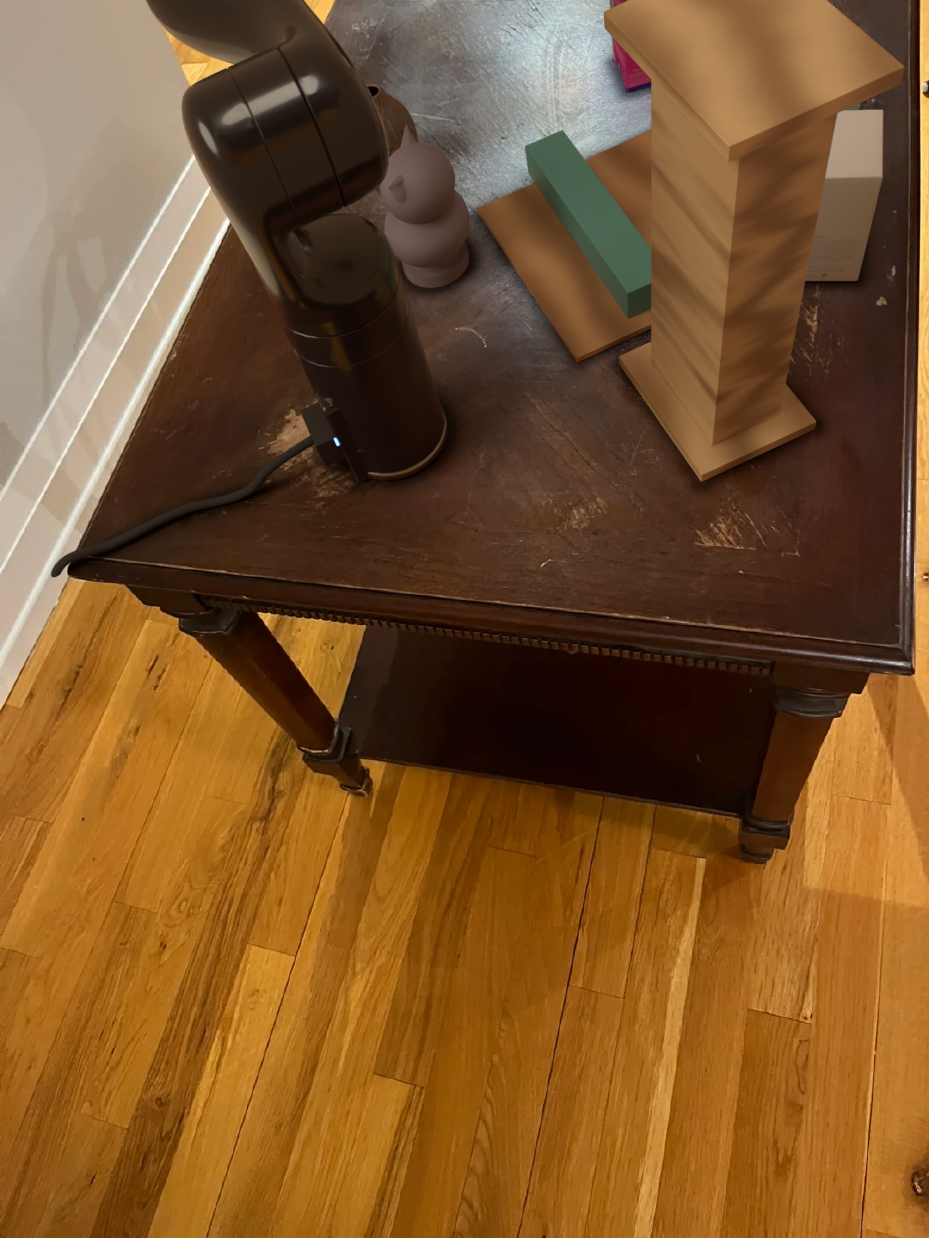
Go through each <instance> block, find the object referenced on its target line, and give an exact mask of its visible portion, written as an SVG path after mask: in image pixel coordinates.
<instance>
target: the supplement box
mask: <svg viewBox="0 0 929 1238" xmlns="http://www.w3.org/2000/svg"><path fill="white" fill-rule="evenodd" d="M608 1H609V9H611V8H613V7H615V6H617V5H620V4H622V3H624V2H626V1H629V0H608ZM610 36H611V35H610ZM611 52H612V53H611V54H612V62H613V63H614V65H615V68H616V69H617V71H618V74H619V76H620V78H621V81H622V83H623V86H624V89H625V92H626V93H631V92H632V93H633V92H635V91H639V90H641V89H642V90H643V89H645V88H648V87H651V78H650V77H649V76H648V75H647V74H646V73H645V72H644V71H643V70H642V69H641V67H640V66H639V65H638V64H637V63H636V62H635V61H634V60H633V59H632V58H631V57H630V55H629V54H628V53H627V52H626V51H625V50H624V49H623V48H622V47H621V46H620V45H619V44H618V42H617V41H616V40H615V39H614V38H613V37H612V36H611Z"/></svg>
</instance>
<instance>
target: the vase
mask: <svg viewBox="0 0 929 1238" xmlns="http://www.w3.org/2000/svg"><path fill="white" fill-rule="evenodd" d="M365 84H366V83H365ZM366 86H367V88H368V89H369V91H370V93H371V96H372V98H373V100H374V102H375V104H376V106H377V109H378V111H379V113H380V116H381V119H382V121H383V124H384V128H385V131H386V136H387V140H388V146H389V157H390V156H391V155H392V154H393V153H394V152H395V151H396V150H398V149H399V148H401V143H402V139H403V134H404V130H405V125H406V124H407V126H408V128H409V130H410V131H411V133H412V135H413V137H414V138H415V140H416V142H418V143H419V136H418V131H417V127H416V123H415V121H414V119H413V117H412V115H411V113H410V112H409V110H408V109H407V107H406V106H405V105H404V104H403V103H402V102H401V101H400V100H398V99H397V98H396V97H394V96H393V95H391V94H389V93H388V92H387V91H386V90H385V89H384V88H383V87H382V86H381V85H380V84H379V83H375V82H370V83H367V84H366Z"/></svg>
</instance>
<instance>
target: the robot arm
mask: <svg viewBox="0 0 929 1238" xmlns="http://www.w3.org/2000/svg"><path fill="white" fill-rule="evenodd" d="M145 2H146V4H147V6H148V8H149V10H150V11H151V13H152V15H153V17H154V18H155V19H156V21H157V22H158V23H159V24H160V25H161V27H163V28H164V30H166V32H167V33H169V34H170V36H172V37H173V38H175V39H176V40H177V41H179V43H181V44H183V45H185V46H187V47H189V48H190V49H192V50H194V51H195V52H198V53H200V54H203V55H205V56H207V57H210V58H212V59H216V60H219V61H221V62H223V63H224V62H225V63H228V64H232V65H230V66H227V67H225V68H223V69H221V70H219V71H216V72H214V73H212V74H210V75H207V76H205V77H203V78H202V79H199V80H198V81H196V82H193V84H190V85H189V86H188V87H187V88H186V90H185V91H184V92H183V95H182V100H181V105H180V106H181V118H182V124H183V129H184V132H185V135H186V138H187V141H188V144H189V147H190V149H191V151H192V153H193V155H194V158H195V160H196V162H197V165H198V167H199V169H200V171H201V172H202V173H201V174H203V176H204V178H205V180H206V182H207V184H208V186H209V188H210V189H211V191H212V193H213V195H214V197H215V198H216V200H217V202H218V204H219V206H220V207H221V209H222V211H223V212H224V214H225V216H226V217H227V219H228V221H229V223H230V224H231V226H232V228H233V230H234V232H235V233H236V235H237V237H238V239H239V240H240V242H241V244H242V246H243V248H244V250H245V251H246V254H247V255H248V257H249V258H250V261H251V263H252V265H253V267H254V269H255V271H256V273H257V275H258V277H259V279H260V282H261V284H262V286H263V288H264V291H265V292H266V293H265V294H266V295H267V297H268V299H269V303H270V304H271V306H272V308H273V310H274V313H275V314H276V316H277V318H278V320H279V322H280V324H281V326H282V328H283V330H284V333H285V334H286V336H287V338H288V340H289V342H290V345H291V346H292V349H293V351H294V353H295V355H296V357H297V359H298V361H299V364H300V365H301V368H302V370H303V372H304V375H306V378H307V380H308V382H309V384H310V387H311V388H312V391H313V393H314V395H315V397H316V399H317V402H315V403H313V404H311V405H309V406H306V407H304V408H302V409H300V410H299V413H300V416H301V417H302V419H303V421H304V424H305V427H306V429H307V431H308V433H309V435H308V436H307V437H305V438H304V439H302V440H301V441H299V442H297V443H296V444H294V445H292V446H291V447H289V448H288V449H287V450H285V451H284V452H281V454H279V455H277V456H276V457H275V458H274V459H272V460H271V461H270V462H269V463H268V464H266V465H265V466H263V468H262V469H261V470H260V471H259V472H258V473H257V475H256V476H255V478H254V479H252V481H251V482H250V483H249V484H248V485H246V486H245V487H242V488H241V489H238V490H237V491H236V490H235V491H234V492H231V493H228V494H224V495H219V496H214V497H209V498H205V499H201V500H195V501H192V502H189V503H185V504H183V505H180V506H177V507H175V508H173V509H170V510H167V511H165V512H163V513H161V514H159V515H157V516H155V517H153V518H151V519H149V520H148V521H146V522H144V523H142V524H139V525H138V526H136V527H134V528H132V529H131V530H128V531H126V532H124V533H122V534H120V535H118V536H116V537H114V538H112V539H109V540H106V541H102V542H100V543H97V544H94V545H89V546H85V547H82V548H79V549H76V550H73V551H71V552H69V553H66V554H64V555H63V556H62V557H61V558H59V559H58V560H57V561H56V562H55V563H54V565H53V566H52V569H51V572H50V577H52V578H58V577H59V576H61V574H62V573H63V572H64V569H65V568H66V567H67V566H68V565H70V564H72V563H73V562H74V563H75V562H76V561H78V560H80V559H84V558H87V557H91V556H94V555H98V554H99V555H100V554H101V553H106V552H108V551H111V550H114V549H116V548H118V547H119V548H120V547H121V546H123V545H125V544H127V543H130V542H131V541H133V540H135V539H137V538H139V537H141V536H143V535H145V534H146V533H148V532H151V531H152V530H154V529H156V528H158V527H161V526H162V525H164V524H166V523H168V522H170V521H172V520H175V519H177V518H179V517H182V516H184V515H187V514H188V515H189V514H192V513H194V512H198V511H201V510H206V509H211V508H215V507H216V508H217V507H221V506H225V505H229V504H232V503H236V502H238V501H240V500H243V499H246V498H248V497H249V496H251V495H252V494H254V493H255V492H257V491H258V489H259V488H261V487H262V485H263V484H264V482H265V481H266V480H267V479H268V478H269V476H270V475H271V474H272V473H273V472H275V471H276V470H277V469H279V468H280V467H281V466H283V465H284V464H286V463H287V462H289V461H290V460H292V459H294V458H295V457H297V456H298V455H299V454H301V453H303V452H304V451H306V450H307V449H309V448H310V447H312V446H313V445H314V447H315V449H316V451H317V453H318V454H319V456H320V458H321V460H322V462H323V464H324V466H325V467H326V468H328V467H330V466H332V465H334V464H336V463H339V462H341V461H343V460H346V462H347V464H348V466H349V468H350V470H351V472H352V474H353V475H354V476H353V477H354V478H355V481H356V482H357V483H363V482H365V481H367V480H370V479H372V480H375V481H396V480H401V479H406V478H408V477H411V476H414V475H416V474H417V473H420V472H421V471H423V470H424V469H426V468H428V466H429V465H431V464H432V463H433V462H434V461H435V460H436V459H437V458H438V456H439V455H440V453H441V452H442V450H443V448H444V446H445V445H446V442H447V438H448V433H449V432H448V431H449V427H448V426H449V425H448V419H447V417H446V412H445V410H444V408H443V405H442V403H441V400H440V397H439V395H438V391H437V388H436V385H435V382H434V378H433V376H432V372H431V369H430V366H429V362H428V359H427V356H426V352H425V350H424V349H425V348H424V347H423V346H424V345H423V343H422V339H421V337H420V333H419V329H418V326H417V324H416V320H415V317H414V314H413V310H412V308H411V304H410V301H409V298H408V295H407V292H406V288H405V285H404V281H403V278H402V275H401V272H400V268H399V265H398V262H397V258H396V255H395V254H394V252H393V249H392V247H391V244H390V242H389V240H388V238H387V237H386V235H385V233H384V231H383V230H382V229H381V227H380V226H379V225H377V224H376V223H375V222H373V221H372V220H370V219H369V218H366V217H364V216H362V215H359V214H356V213H352V212H345V211H340V210H342V209H343V208H346V207H349V206H350V205H352V204H354V203H356V202H358V201H360V200H362V199H365V197H367V196H369V195H370V194H371V193H373V192H374V191H375V190H377V188H380V184H381V183H382V182H383V180H384V179H385V177H386V174H387V170H388V166H389V146H388V140H387V136H386V131H385V128H384V124H383V121H382V119H381V116H380V113H379V111H378V109H377V106H376V104H375V102H374V100H373V98H372V96H371V93H370V91H369V89H368V88H367V86H366V82H365V80H364V78H363V77H362V75H361V73H360V72H359V70H358V68H357V67H356V65H355V64H354V63H353V61H352V59H351V58H350V56H349V55H348V54H347V52H346V50H344V48H343V47H342V45H340V43H339V42H338V40H337V39H336V38H335V37H334V35H333V34H332V32H331V31H330V30H329V29H328V27H327V26H326V25H325V24H324V23H323V21H322V20H321V19H320V18H319V17H318V15H317V14H316V13H315V12H314V10H313V9H312V8H311V7H310V6H309V4H308V3H307V2H306V0H145Z"/></svg>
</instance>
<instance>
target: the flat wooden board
mask: <svg viewBox="0 0 929 1238" xmlns="http://www.w3.org/2000/svg"><path fill="white" fill-rule="evenodd" d="M584 159H585V161H586V162H587V163H588V165H589V166H590V167H591V169H592V170H593V171H594V173H595V174H596V175H597V177H598V178H599V179H600V181H601V182H602V183H603V185H604V186H605V187H606V189H607V190H608V192H609V193H610V194H611V196H612V197H613V198H614V200H615V201H616V202H617V204H618V205H619V206H620V208H621V209H622V210H623V212H624V213H625V214H626V216H627V217H628V218H629V220H630V221H631V223H632V224H633V225H634V227H635V228H636V229H637V231H638V232H639V233H640V235H641V236H642V237H643V239H644V240H645V241H646V243H647V244H648V245H649V247H650V248H651V129H650V130H647V131H644V132H643V133H641V134H638V135H636V136H634V137H632V138H630V139H627V140H625V141H623V142H621V143H619V144H617V145H614V146H612V147H609V148H607V149H605V150H603V151H601V152H598V153H597V154H594V155H592V156H590V157H588V158H584ZM476 211H477V214H478V216H479V217H480V219H481V220H482V222H483V224H484V225H485V226H486V228H487V230H488V231H489V233H490V234H491V236H493V238H494V241H496V243H497V244H498V246H499V248H500V249H501V250H502V252H503V254H504V255H505V256H506V258H507V260H508V261H509V262H510V264H511V266H512V267H513V269H514V270H515V272H516V273H517V275H518V276H519V278H520V279H521V281H522V282H523V283H524V285H525V287H526V288H527V289H528V291H529V292H530V294H531V296H532V297H533V298H534V300H535V301H536V303H537V304H538V306H539V308H540V309H541V311H542V312H543V314H544V316H545V317H546V318H547V320H548V321H549V323H550V324H551V326H552V327H553V329H554V330H555V332H556V333H557V335H558V336H559V338H560V339H561V341H562V342H563V344H564V345H565V347H566V348H567V350H568V351H569V353H570V354H571V356H572V357H573V359H574V360H575V362H576V363H580V362H582V361H583V360H586V359H588V358H590V357H593V356H595V355H597V354H599V353H602V352H604V351H605V350H607V349H610V348H612V347H615V346H617V345H619V344H621V343H624V342H625V341H627V340H630V339H632V338H634V337H636V336H639V335H641V334H643V333H645V332H647V331H649V330H651V309H649V310H647V311H645V312H642V313H640V314H638V315H635V316H633V317H631V318H627V316H626V315H625V313H624V312H623V310H622V309H621V307H620V306H619V304H618V303H617V302H616V300H615V299H614V297H613V296H612V294H611V293H610V291H609V290H608V288H607V287H606V285H605V284H604V283H603V281H602V280H601V278H600V277H599V275H598V274H597V272H596V271H595V269H594V268H593V266H592V265H591V264H590V262H589V261H588V259H587V258H586V256H585V255H584V253H583V252H582V250H581V249H580V248H579V246H578V245H577V243H576V242H575V240H574V239H573V237H572V236H571V234H570V233H569V231H568V230H567V229H566V227H565V226H564V224H563V223H562V221H561V220H560V218H559V217H558V215H557V214H556V212H555V211H554V210H553V208H552V207H551V205H550V204H549V202H548V201H547V199H546V198H545V196H544V195H543V193H542V192H541V191H540V189H539V188H538V186H537V185H536V183H535V182H533V183H530V184H528V185H526V186H523V187H522V188H521V187H520V188H519V189H517V190H514V191H512V192H510V193H508V194H506V195H504V196H502V197H500V198H497V199H495V200H493V201H491V202H488V203H486V204H484V205H481V206H480V207H477V208H476Z"/></svg>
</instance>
